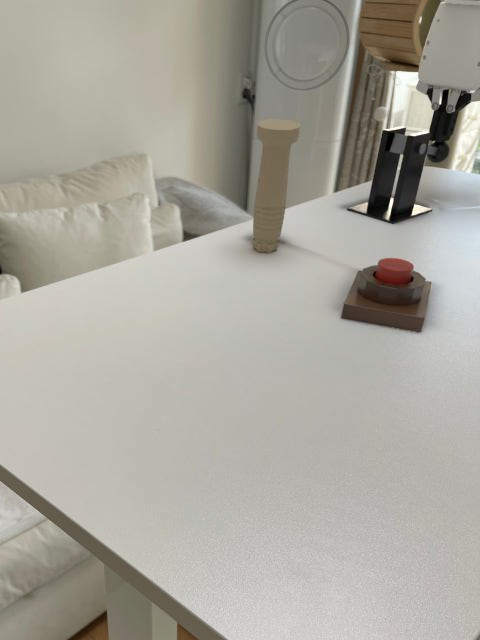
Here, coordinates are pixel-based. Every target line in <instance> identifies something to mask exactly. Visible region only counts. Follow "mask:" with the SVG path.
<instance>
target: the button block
mask: <svg viewBox="0 0 480 640" xmlns="http://www.w3.org/2000/svg"><path fill="white" fill-rule="evenodd" d="M377 265H378V264H377ZM377 265H376V264H375V265H371V266H367V267H365V268H364V267H363V268H362V270H357V273H356V275H355V278H354V279H353V282H352V284H351V287H350V288H349V291H348V293H347V295H346V298H345V300H344V302H343V305H342V310H341V316H340V318H341V319H343V320H349V321H355V322H360V323H365V324H370V325H377V326H382V327H386V326H387V327H388V328H392V327H394V328H393V329H397V328H399V329H398V330H403V329H404V331H408V330H410V331H409V332H414V331H415V332H414V333H419V332H421V333H422V330H423V327H424V323H425V319H426V313H427V309H428V303H429V299H430V298H429V297H430V292H431V287H432V281H428V280H427V278H426V277H425V276H423V275H422V274H421V273H420V272H419V271H415V270H413V272H412V276H411V280H410V283H408V284H397V285H396V284H390V283H384V282H382V281H379V280H377V279H376V278H375V274H376V269H377ZM387 327H386V328H387Z"/></svg>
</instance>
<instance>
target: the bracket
mask: <svg viewBox="0 0 480 640" xmlns="http://www.w3.org/2000/svg"><path fill="white" fill-rule="evenodd" d="M406 131H407V127H406V126H396V127H391V128H386V129H382V131H381V134H380V135H381V136H380V141H379V146H378V150H377V155H376V161H375V164H374V165H375V166H374V171H373V176H372V181H371V186H370V192H369V196H368V201H366V202H364V203H360V204H357V205H353V206H350V207H347V208H346V211H348V212H352V213H354V214H358V215H361V216H365V217H368V218H371V219H374V220H378V221H381V222H385V223H387V224H391V225H395V224H399V223H401V222H404V221H408V220H411V219H413V218H417V217H419V216H422V215H425V214H429V213H431V212H433V208H430V207H427V206H423V205H420V204H415V203H416V199H417V197H418V196H417V195H418V192H419V187H420V183H421V178H422V175H423V170H424V166H425V162H426V159H427V150H428V146H430V137H431V132H429V131H426V130H425V131H420V132H415V133H411V134H408V135H406ZM395 134H401V135H406V136H407V140H406V145H405V149H404V154H403V155H402V154H397V153H393V152H390V148H391V145H392V142H393V139H394V136H395ZM401 155H402V159H401ZM400 159H401V163H400ZM399 163H400V167H399ZM398 168H399V171H398ZM397 174H398V178H397V182H396V177H397ZM395 182H396V187H395ZM394 187H395V191H394ZM393 191H394V194H393ZM392 195H393V197H392Z"/></svg>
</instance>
